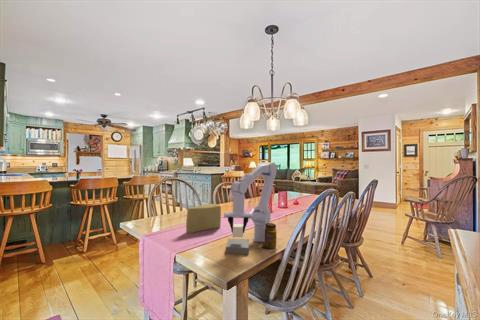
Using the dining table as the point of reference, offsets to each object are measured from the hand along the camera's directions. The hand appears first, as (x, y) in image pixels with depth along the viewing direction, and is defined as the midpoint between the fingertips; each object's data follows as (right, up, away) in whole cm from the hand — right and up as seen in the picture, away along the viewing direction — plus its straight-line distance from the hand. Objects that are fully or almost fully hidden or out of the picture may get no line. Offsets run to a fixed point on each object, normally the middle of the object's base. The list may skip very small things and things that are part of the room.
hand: (238, 232), depth 112 cm
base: (0, -9, 0) cm, 8 cm away
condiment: (+16, -9, +2) cm, 19 cm away
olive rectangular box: (-23, -8, +29) cm, 38 cm away
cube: (0, -2, 0) cm, 2 cm away
